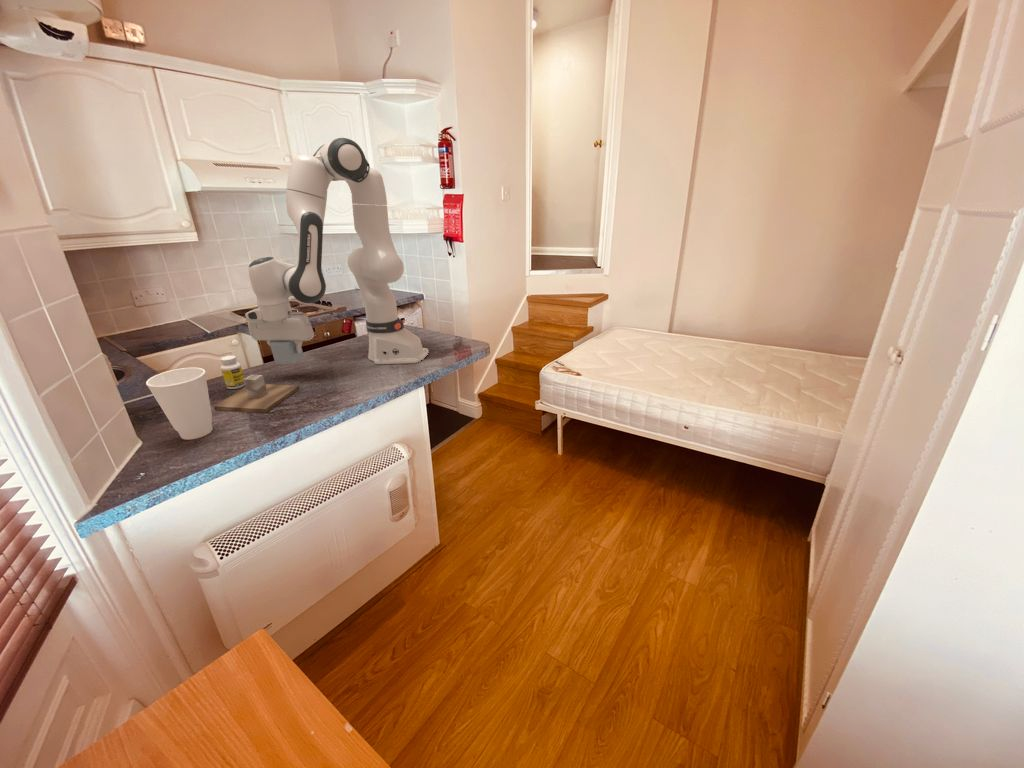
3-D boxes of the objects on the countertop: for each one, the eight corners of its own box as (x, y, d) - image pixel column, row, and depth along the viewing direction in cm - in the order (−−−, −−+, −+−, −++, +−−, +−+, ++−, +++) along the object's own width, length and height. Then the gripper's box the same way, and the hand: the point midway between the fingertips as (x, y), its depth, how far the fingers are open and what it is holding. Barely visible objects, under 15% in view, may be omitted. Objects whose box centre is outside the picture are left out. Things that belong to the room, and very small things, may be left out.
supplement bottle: (237, 390, 134) (228, 361, 130) (222, 388, 135) (213, 360, 131) (250, 383, 139) (242, 355, 135) (236, 382, 140) (227, 354, 136)
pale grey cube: (303, 356, 142) (298, 336, 139) (293, 363, 137) (287, 343, 134) (287, 356, 143) (281, 336, 140) (275, 363, 138) (269, 343, 135)
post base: (299, 389, 134) (294, 368, 131) (266, 412, 119) (259, 389, 116) (253, 386, 136) (247, 366, 133) (215, 409, 121) (207, 387, 118)
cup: (169, 430, 111) (147, 374, 105) (222, 417, 118) (204, 363, 111) (168, 450, 102) (143, 390, 96) (225, 435, 109) (206, 378, 102)
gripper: (312, 308, 134) (322, 349, 140) (253, 308, 137) (266, 348, 143) (300, 314, 129) (311, 356, 135) (240, 314, 131) (253, 355, 137)
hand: (287, 352), depth 139 cm, fingers closed on pale grey cube, 6 cm apart
